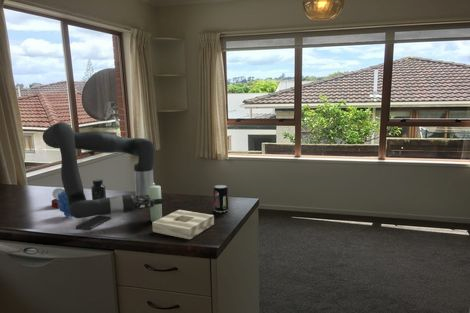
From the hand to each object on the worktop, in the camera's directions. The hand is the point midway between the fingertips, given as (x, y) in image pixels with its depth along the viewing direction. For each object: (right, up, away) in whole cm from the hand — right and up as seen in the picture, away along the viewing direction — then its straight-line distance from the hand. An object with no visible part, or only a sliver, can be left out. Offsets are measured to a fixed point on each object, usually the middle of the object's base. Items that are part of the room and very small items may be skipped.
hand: (161, 199), depth 160 cm
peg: (-2, -9, +1) cm, 9 cm away
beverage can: (+26, -7, +12) cm, 29 cm away
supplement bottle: (-38, -5, +28) cm, 47 cm away
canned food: (-55, -6, +24) cm, 61 cm away
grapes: (-45, -9, +6) cm, 46 cm away
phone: (-29, -11, -2) cm, 31 cm away
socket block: (+11, -11, -10) cm, 18 cm away
